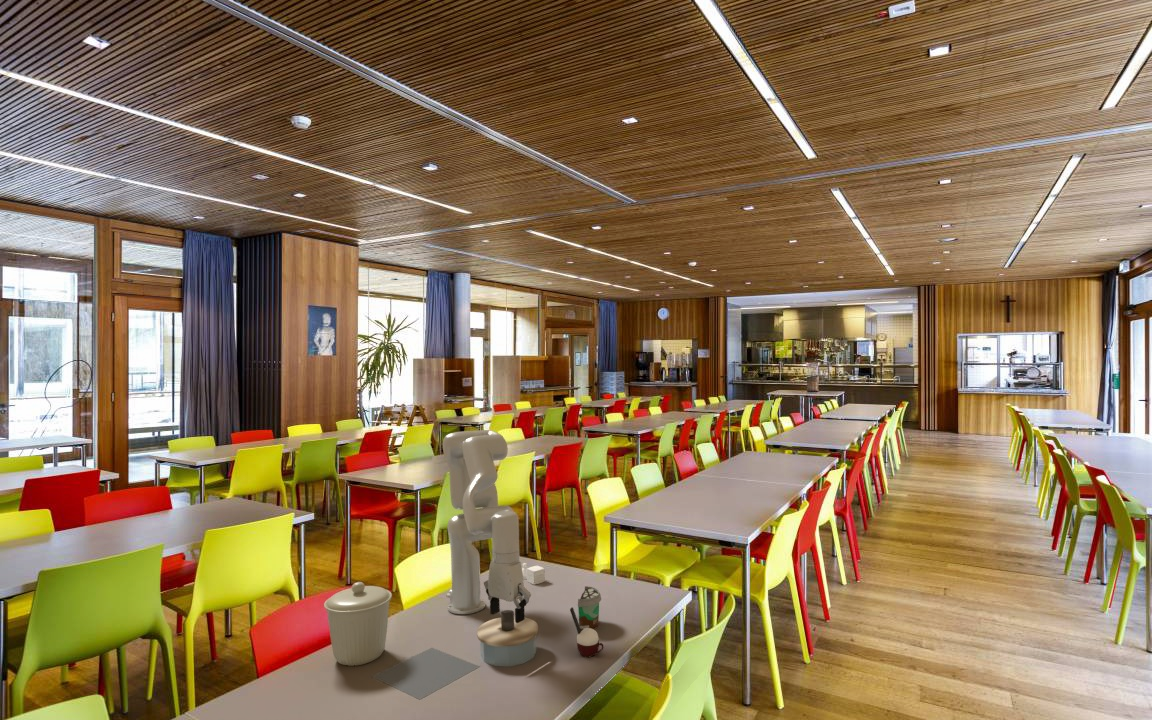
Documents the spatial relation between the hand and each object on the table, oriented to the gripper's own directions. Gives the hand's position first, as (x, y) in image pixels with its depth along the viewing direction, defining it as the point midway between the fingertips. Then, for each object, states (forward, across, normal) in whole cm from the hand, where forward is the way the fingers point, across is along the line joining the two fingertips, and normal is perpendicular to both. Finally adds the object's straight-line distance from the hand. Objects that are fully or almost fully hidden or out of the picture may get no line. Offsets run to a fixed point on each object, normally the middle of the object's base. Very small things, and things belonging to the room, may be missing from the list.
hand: (507, 617), depth 171 cm
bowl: (+10, 0, 0) cm, 10 cm away
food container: (+11, +8, +29) cm, 32 cm away
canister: (+11, -34, -25) cm, 43 cm away
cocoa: (+10, +18, +13) cm, 25 cm away
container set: (+12, -40, +51) cm, 65 cm away
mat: (+10, -11, -20) cm, 25 cm away
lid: (+4, 0, 0) cm, 4 cm away
